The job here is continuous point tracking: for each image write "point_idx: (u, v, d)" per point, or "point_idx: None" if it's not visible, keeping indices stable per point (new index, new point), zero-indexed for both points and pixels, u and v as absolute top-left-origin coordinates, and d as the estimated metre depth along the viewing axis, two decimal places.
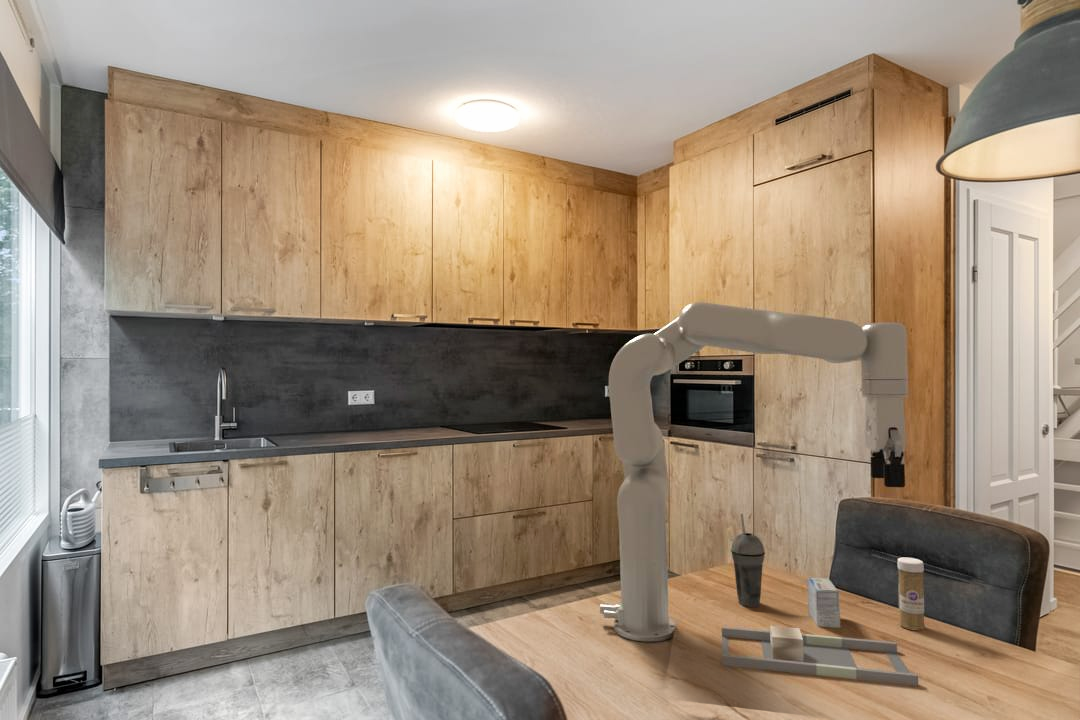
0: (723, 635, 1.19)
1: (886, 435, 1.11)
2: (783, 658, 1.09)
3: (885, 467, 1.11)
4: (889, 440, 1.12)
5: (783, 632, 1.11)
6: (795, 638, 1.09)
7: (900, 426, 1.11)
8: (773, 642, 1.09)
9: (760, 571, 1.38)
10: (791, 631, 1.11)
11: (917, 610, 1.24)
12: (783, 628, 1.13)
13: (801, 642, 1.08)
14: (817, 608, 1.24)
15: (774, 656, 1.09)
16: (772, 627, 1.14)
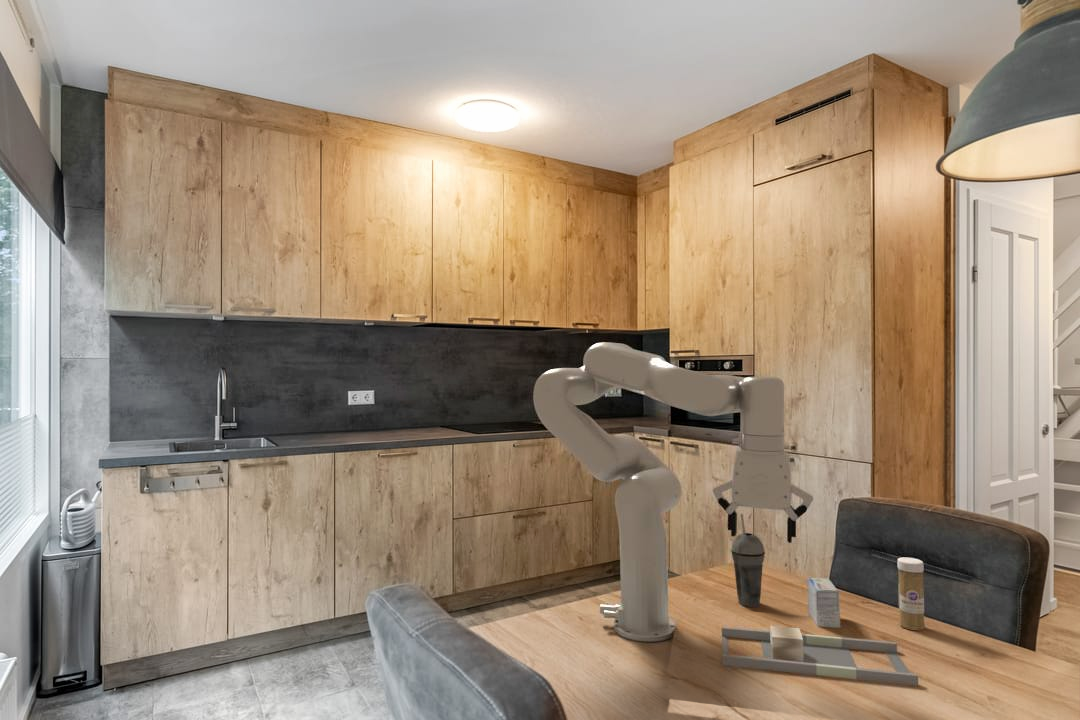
0: (723, 635, 1.19)
1: (791, 491, 1.11)
2: (783, 658, 1.09)
3: (791, 523, 1.11)
4: None
5: (783, 632, 1.11)
6: (795, 638, 1.09)
7: None
8: (773, 642, 1.09)
9: (760, 571, 1.38)
10: (791, 631, 1.11)
11: (917, 610, 1.24)
12: (783, 628, 1.13)
13: (801, 642, 1.08)
14: (817, 608, 1.24)
15: (774, 656, 1.09)
16: (772, 627, 1.14)
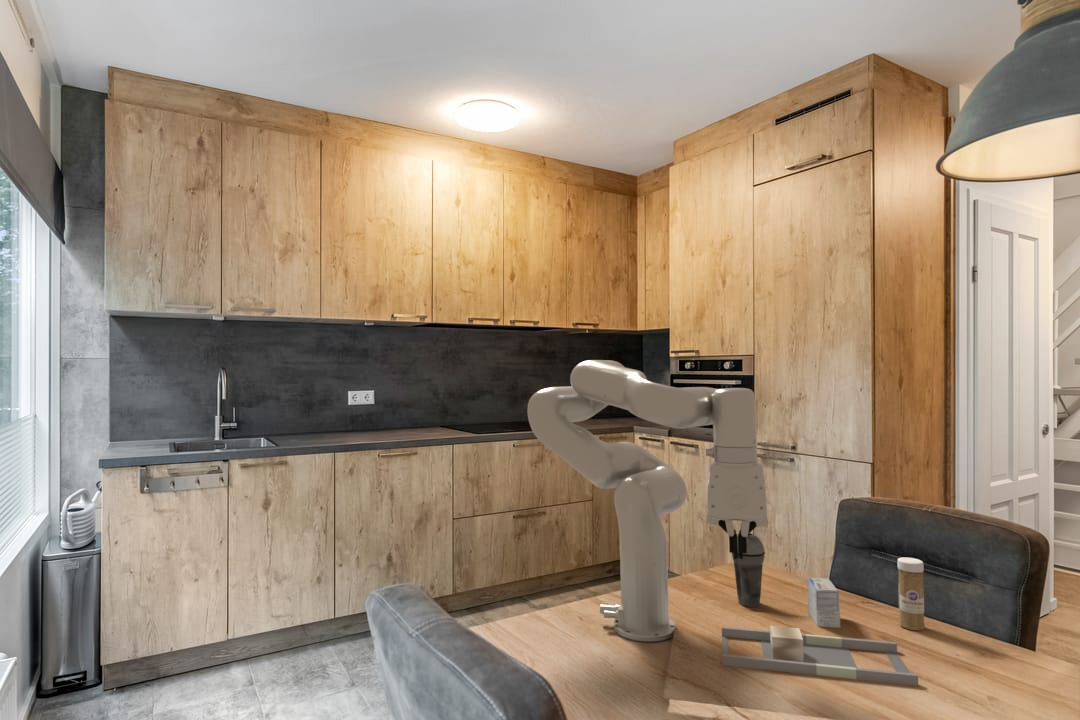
0: (723, 635, 1.19)
1: (766, 502, 1.11)
2: (783, 658, 1.09)
3: None
4: None
5: (783, 632, 1.11)
6: (795, 638, 1.09)
7: None
8: (773, 642, 1.09)
9: (760, 571, 1.38)
10: (791, 631, 1.11)
11: (917, 610, 1.24)
12: (783, 628, 1.13)
13: (801, 642, 1.08)
14: (817, 608, 1.24)
15: (774, 656, 1.09)
16: (772, 627, 1.14)
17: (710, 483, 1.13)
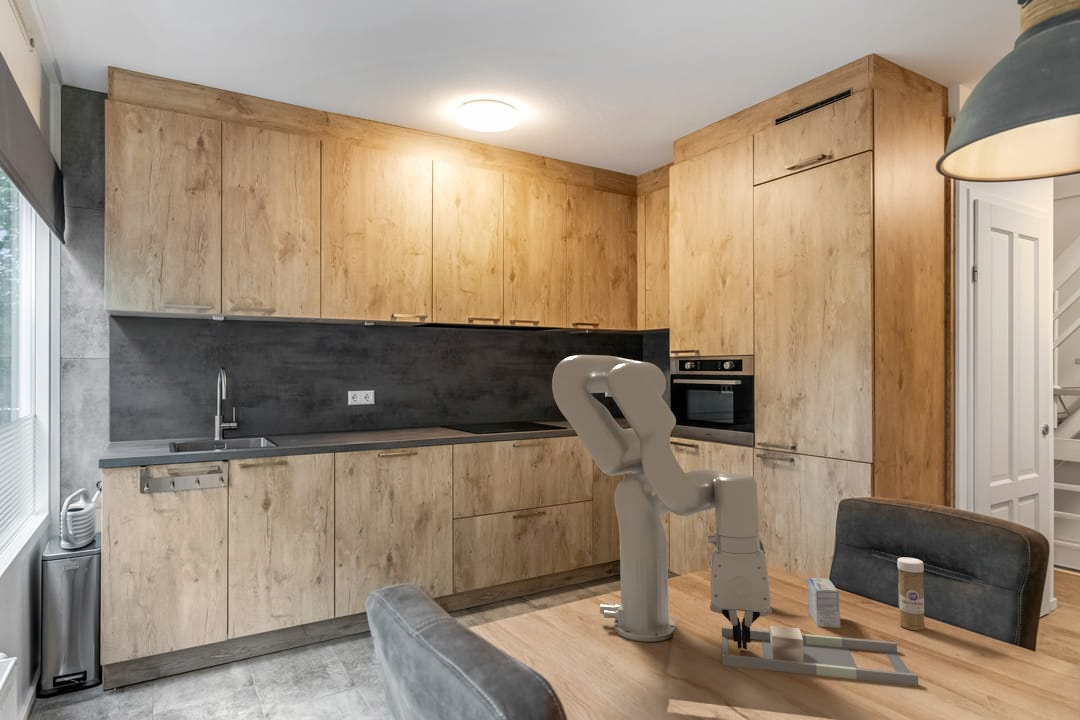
0: (723, 635, 1.19)
1: None
2: (783, 658, 1.09)
3: (746, 630, 1.11)
4: None
5: (783, 632, 1.11)
6: (795, 638, 1.09)
7: None
8: (773, 642, 1.09)
9: None
10: (791, 631, 1.11)
11: (917, 610, 1.24)
12: (783, 628, 1.13)
13: (801, 642, 1.08)
14: (817, 608, 1.24)
15: (774, 656, 1.09)
16: (772, 627, 1.14)
17: (713, 572, 1.12)
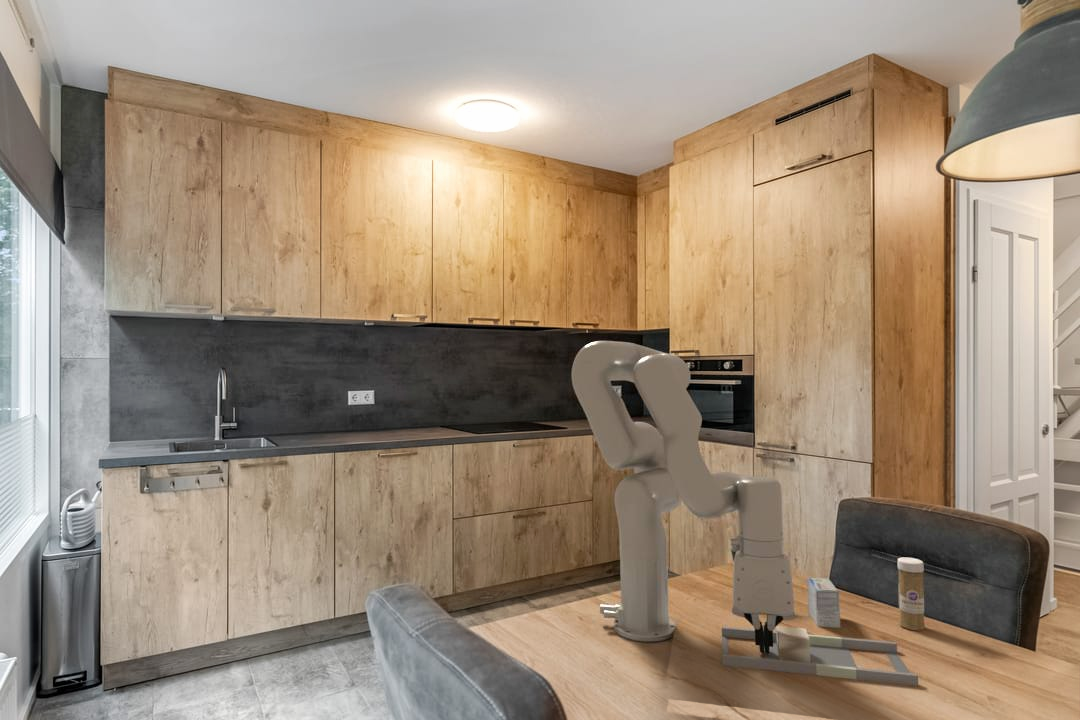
0: (723, 635, 1.19)
1: None
2: (790, 658, 1.09)
3: (768, 633, 1.11)
4: None
5: (789, 632, 1.11)
6: (801, 638, 1.08)
7: None
8: (780, 642, 1.09)
9: None
10: (798, 632, 1.11)
11: (917, 610, 1.24)
12: (789, 628, 1.13)
13: (808, 642, 1.08)
14: (817, 608, 1.24)
15: (781, 657, 1.09)
16: (778, 627, 1.13)
17: (736, 575, 1.11)
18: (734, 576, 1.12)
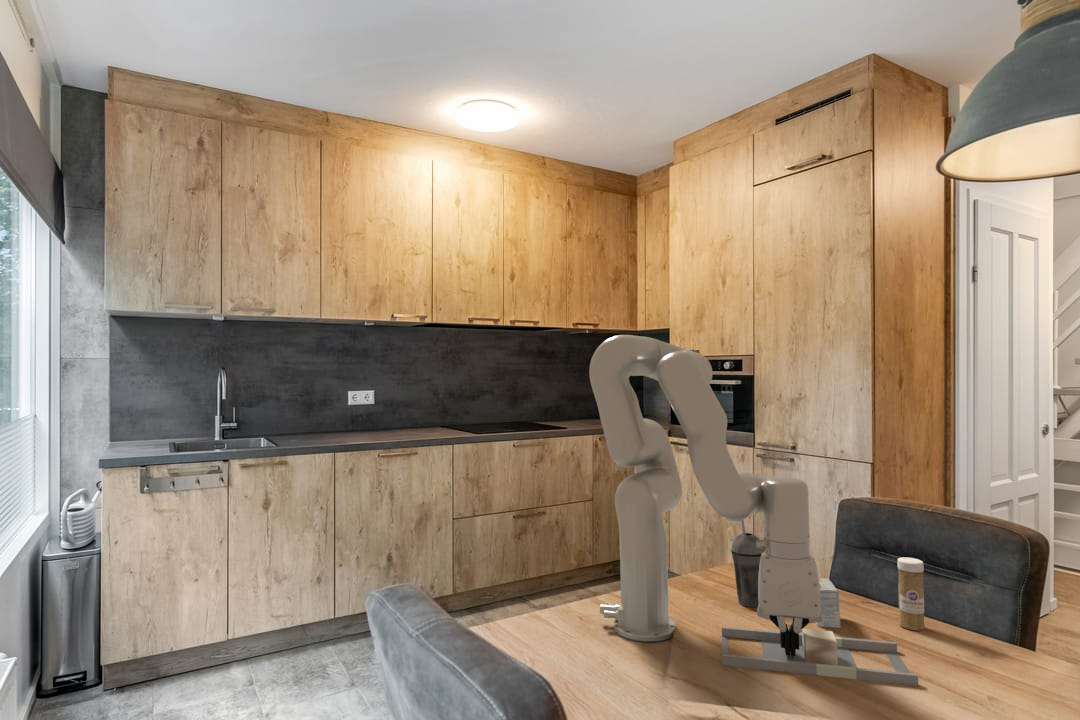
0: (723, 635, 1.19)
1: None
2: (817, 661, 1.07)
3: (794, 636, 1.09)
4: None
5: (816, 635, 1.10)
6: (829, 641, 1.07)
7: None
8: (806, 645, 1.08)
9: None
10: (825, 634, 1.10)
11: (917, 610, 1.24)
12: (816, 631, 1.11)
13: (835, 645, 1.07)
14: None
15: (807, 659, 1.08)
16: (804, 630, 1.12)
17: (762, 577, 1.10)
18: (760, 578, 1.11)
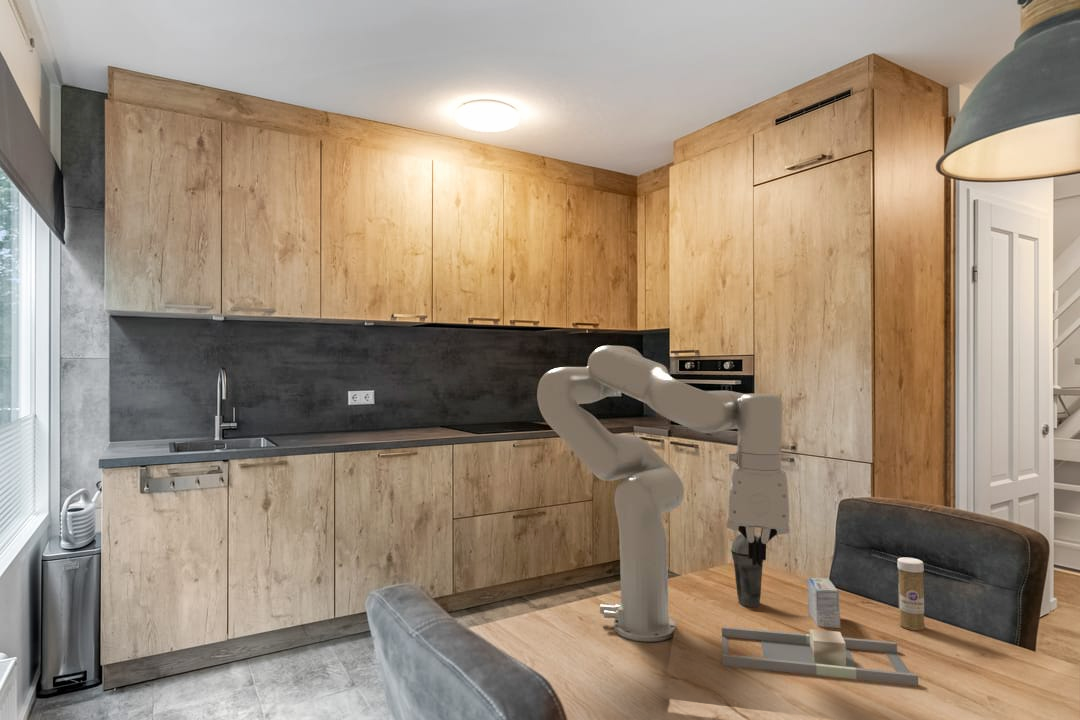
0: (723, 635, 1.19)
1: None
2: (825, 662, 1.07)
3: (762, 547, 1.11)
4: None
5: (824, 635, 1.10)
6: (837, 642, 1.07)
7: None
8: (814, 646, 1.08)
9: (760, 571, 1.38)
10: (832, 635, 1.10)
11: (917, 610, 1.24)
12: (823, 632, 1.11)
13: (843, 646, 1.06)
14: (817, 608, 1.24)
15: (815, 660, 1.07)
16: (812, 630, 1.12)
17: (732, 489, 1.12)
18: (731, 490, 1.12)
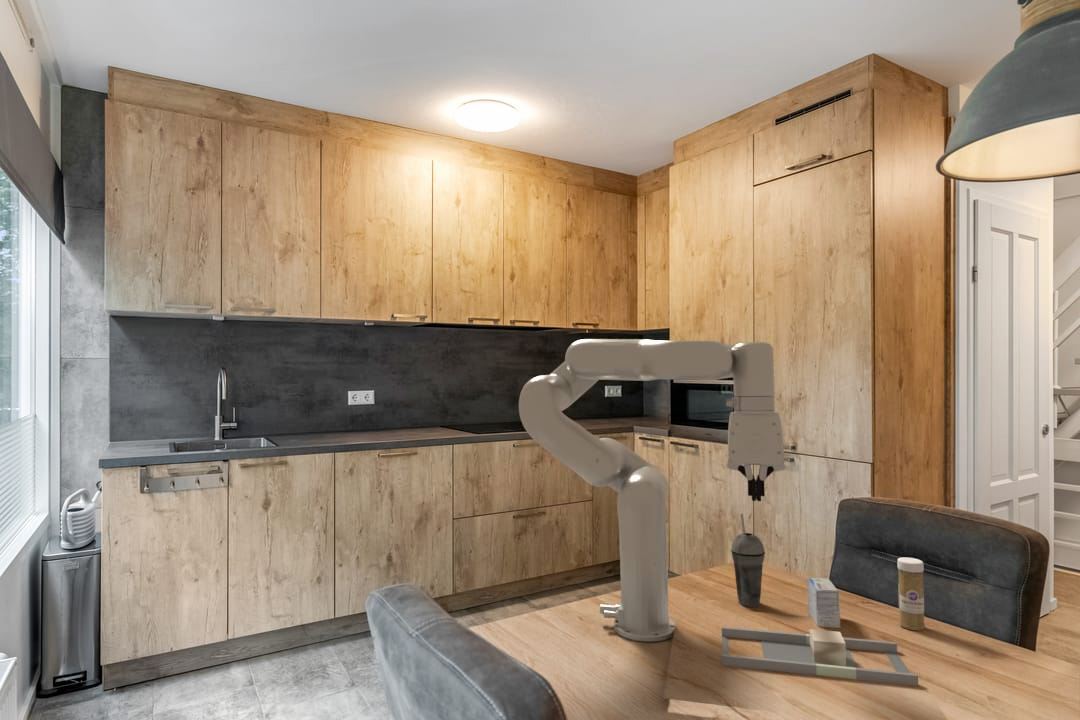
0: (723, 635, 1.19)
1: (783, 447, 1.19)
2: (825, 662, 1.07)
3: (760, 483, 1.20)
4: None
5: (824, 635, 1.10)
6: (837, 642, 1.07)
7: None
8: (814, 646, 1.08)
9: (760, 571, 1.38)
10: (832, 635, 1.10)
11: (917, 610, 1.24)
12: (823, 632, 1.11)
13: (843, 646, 1.06)
14: (817, 608, 1.24)
15: (815, 660, 1.07)
16: (812, 630, 1.12)
17: (730, 430, 1.21)
18: (729, 432, 1.21)
